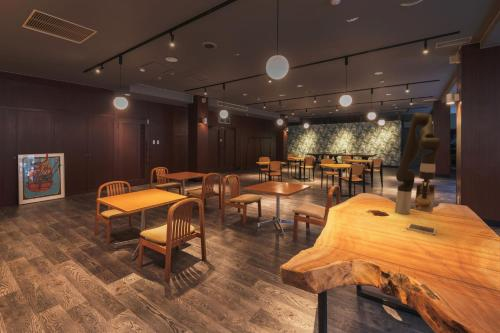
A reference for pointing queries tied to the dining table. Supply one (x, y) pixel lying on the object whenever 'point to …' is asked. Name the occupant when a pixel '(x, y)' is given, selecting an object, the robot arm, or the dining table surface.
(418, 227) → the mat
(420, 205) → the coffee box
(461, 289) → the dining table surface
